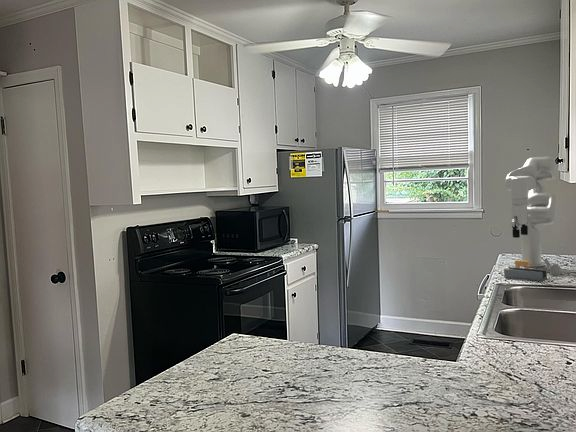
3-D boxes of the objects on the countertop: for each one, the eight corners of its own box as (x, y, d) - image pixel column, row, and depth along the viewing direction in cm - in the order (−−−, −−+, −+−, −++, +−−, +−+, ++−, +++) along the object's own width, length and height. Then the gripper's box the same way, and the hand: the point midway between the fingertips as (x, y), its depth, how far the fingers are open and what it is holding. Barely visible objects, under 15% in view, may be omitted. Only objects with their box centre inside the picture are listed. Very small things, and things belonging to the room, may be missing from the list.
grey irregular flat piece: (560, 274, 235) (560, 258, 234) (559, 275, 234) (559, 258, 233) (543, 273, 239) (543, 257, 238) (543, 274, 238) (543, 258, 237)
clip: (517, 271, 247) (516, 259, 247) (529, 272, 243) (529, 260, 242) (515, 272, 245) (515, 260, 245) (527, 273, 241) (527, 261, 241)
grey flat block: (509, 274, 240) (509, 266, 240) (546, 278, 228) (546, 270, 228) (504, 277, 235) (504, 269, 235) (541, 281, 223) (541, 272, 223)
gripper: (519, 200, 249) (519, 233, 251) (504, 203, 238) (505, 238, 239) (534, 200, 243) (535, 234, 245) (519, 203, 232) (520, 239, 234)
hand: (520, 236), depth 242 cm, fingers open, 9 cm apart
